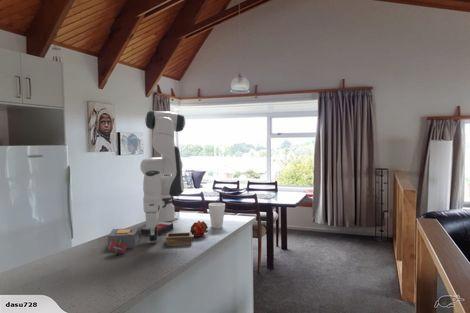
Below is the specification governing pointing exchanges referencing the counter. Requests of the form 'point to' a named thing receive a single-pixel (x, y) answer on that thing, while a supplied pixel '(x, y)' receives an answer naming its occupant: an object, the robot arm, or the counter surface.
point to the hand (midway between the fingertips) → (153, 233)
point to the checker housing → (124, 237)
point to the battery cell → (153, 237)
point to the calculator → (159, 228)
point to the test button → (123, 231)
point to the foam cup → (216, 214)
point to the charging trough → (178, 239)
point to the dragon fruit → (199, 229)
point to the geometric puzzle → (117, 246)
